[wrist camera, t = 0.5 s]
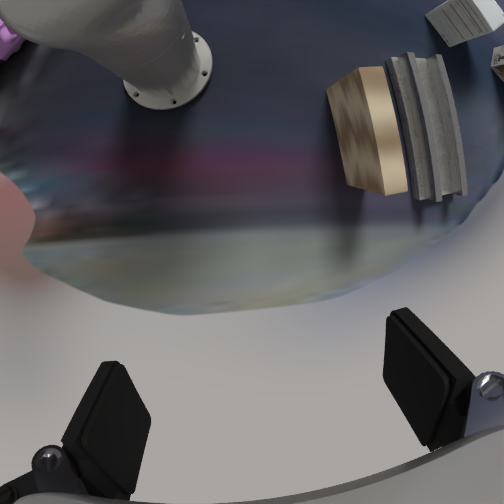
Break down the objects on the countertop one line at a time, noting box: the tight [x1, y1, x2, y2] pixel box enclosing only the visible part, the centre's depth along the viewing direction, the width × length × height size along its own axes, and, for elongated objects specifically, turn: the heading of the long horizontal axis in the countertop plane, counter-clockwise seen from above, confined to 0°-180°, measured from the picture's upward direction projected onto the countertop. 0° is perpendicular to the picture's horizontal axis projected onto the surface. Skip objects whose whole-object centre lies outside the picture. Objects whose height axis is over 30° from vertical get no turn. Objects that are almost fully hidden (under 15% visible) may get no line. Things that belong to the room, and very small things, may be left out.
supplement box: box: [425, 0, 504, 47], centre depth 27 cm, size 7×7×13 cm
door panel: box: [326, 67, 408, 196], centre depth 33 cm, size 14×3×12 cm, turn 13°
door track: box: [385, 52, 467, 202], centre depth 36 cm, size 22×9×5 cm, turn 13°
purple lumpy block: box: [0, 19, 26, 61], centre depth 24 cm, size 15×13×11 cm
